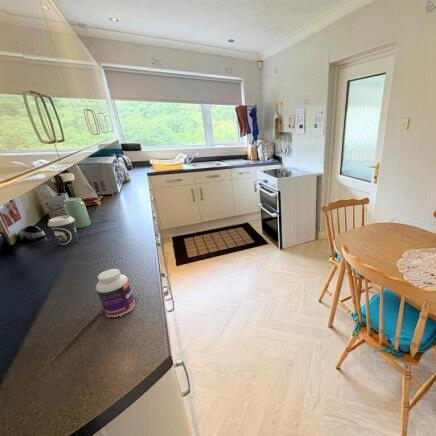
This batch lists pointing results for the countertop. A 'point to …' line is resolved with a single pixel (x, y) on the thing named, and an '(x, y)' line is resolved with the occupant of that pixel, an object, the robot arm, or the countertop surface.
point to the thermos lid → (65, 177)
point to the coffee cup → (64, 230)
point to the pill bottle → (114, 293)
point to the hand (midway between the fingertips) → (65, 186)
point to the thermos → (77, 212)
